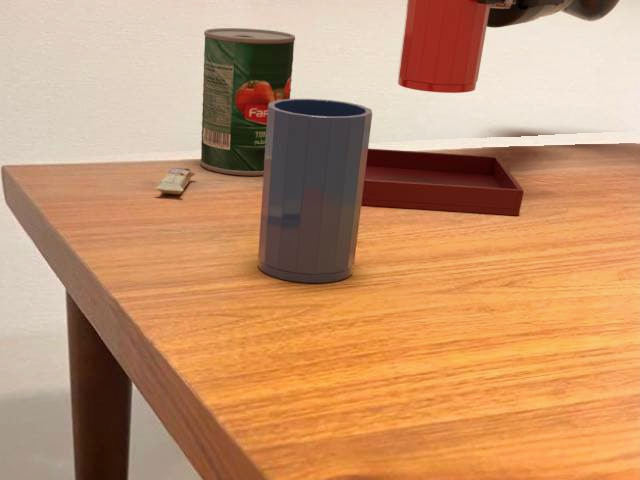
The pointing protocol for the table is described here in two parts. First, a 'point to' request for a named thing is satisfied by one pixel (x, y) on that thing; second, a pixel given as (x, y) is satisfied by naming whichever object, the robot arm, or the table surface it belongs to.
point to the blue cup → (312, 188)
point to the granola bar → (175, 181)
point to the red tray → (440, 182)
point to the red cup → (442, 45)
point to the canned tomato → (242, 95)
